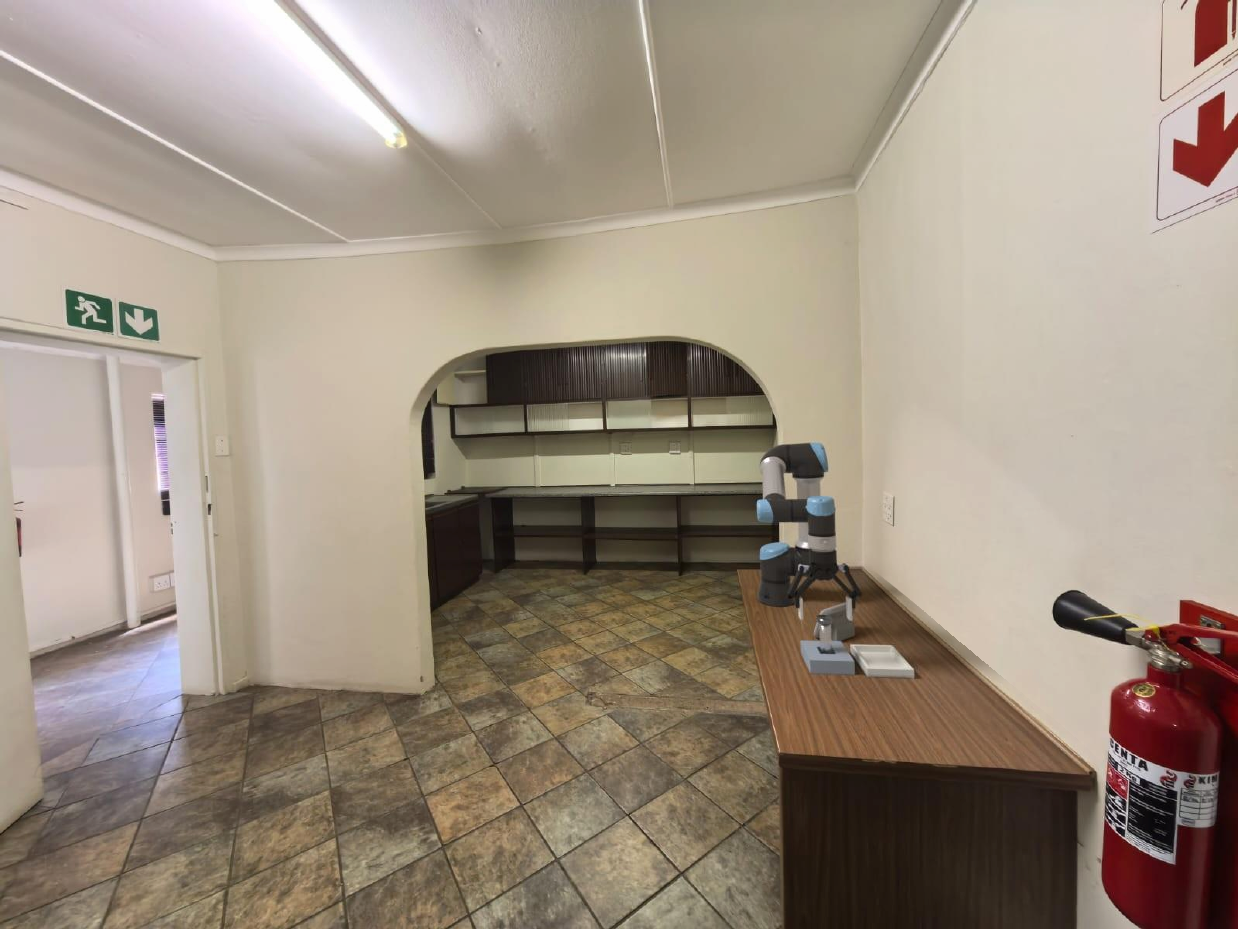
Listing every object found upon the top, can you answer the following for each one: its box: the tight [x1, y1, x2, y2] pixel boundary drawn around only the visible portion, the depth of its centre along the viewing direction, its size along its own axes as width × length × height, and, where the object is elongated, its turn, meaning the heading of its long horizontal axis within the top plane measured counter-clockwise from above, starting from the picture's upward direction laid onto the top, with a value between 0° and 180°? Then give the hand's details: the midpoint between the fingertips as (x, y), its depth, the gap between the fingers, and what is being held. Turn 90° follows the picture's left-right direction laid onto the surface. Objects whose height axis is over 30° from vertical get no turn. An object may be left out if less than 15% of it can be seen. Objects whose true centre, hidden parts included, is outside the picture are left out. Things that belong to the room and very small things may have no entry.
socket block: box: [800, 640, 856, 676], centre depth 132 cm, size 12×12×4 cm
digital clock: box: [813, 601, 857, 642], centre depth 149 cm, size 16×9×11 cm, turn 104°
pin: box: [816, 614, 833, 654], centre depth 132 cm, size 4×4×14 cm
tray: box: [849, 644, 915, 679], centre depth 130 cm, size 14×12×2 cm
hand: (825, 618), depth 131 cm, fingers open, 13 cm apart
